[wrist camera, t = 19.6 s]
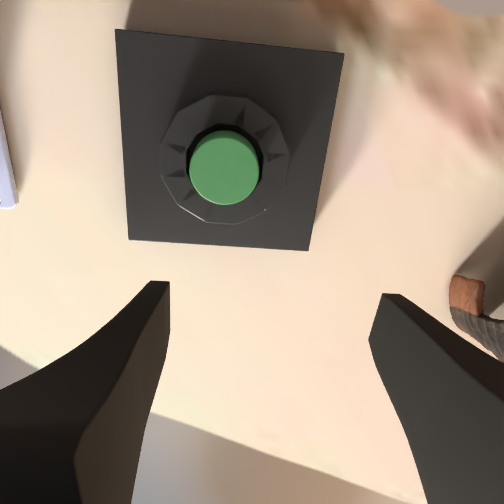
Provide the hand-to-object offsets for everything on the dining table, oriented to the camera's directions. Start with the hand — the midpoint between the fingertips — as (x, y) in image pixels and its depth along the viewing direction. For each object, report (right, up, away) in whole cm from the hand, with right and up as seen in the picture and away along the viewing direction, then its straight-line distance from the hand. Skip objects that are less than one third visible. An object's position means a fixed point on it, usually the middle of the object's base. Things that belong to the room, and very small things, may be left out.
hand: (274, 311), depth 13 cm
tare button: (-2, +6, +5) cm, 8 cm away
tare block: (-2, +7, +7) cm, 11 cm away
